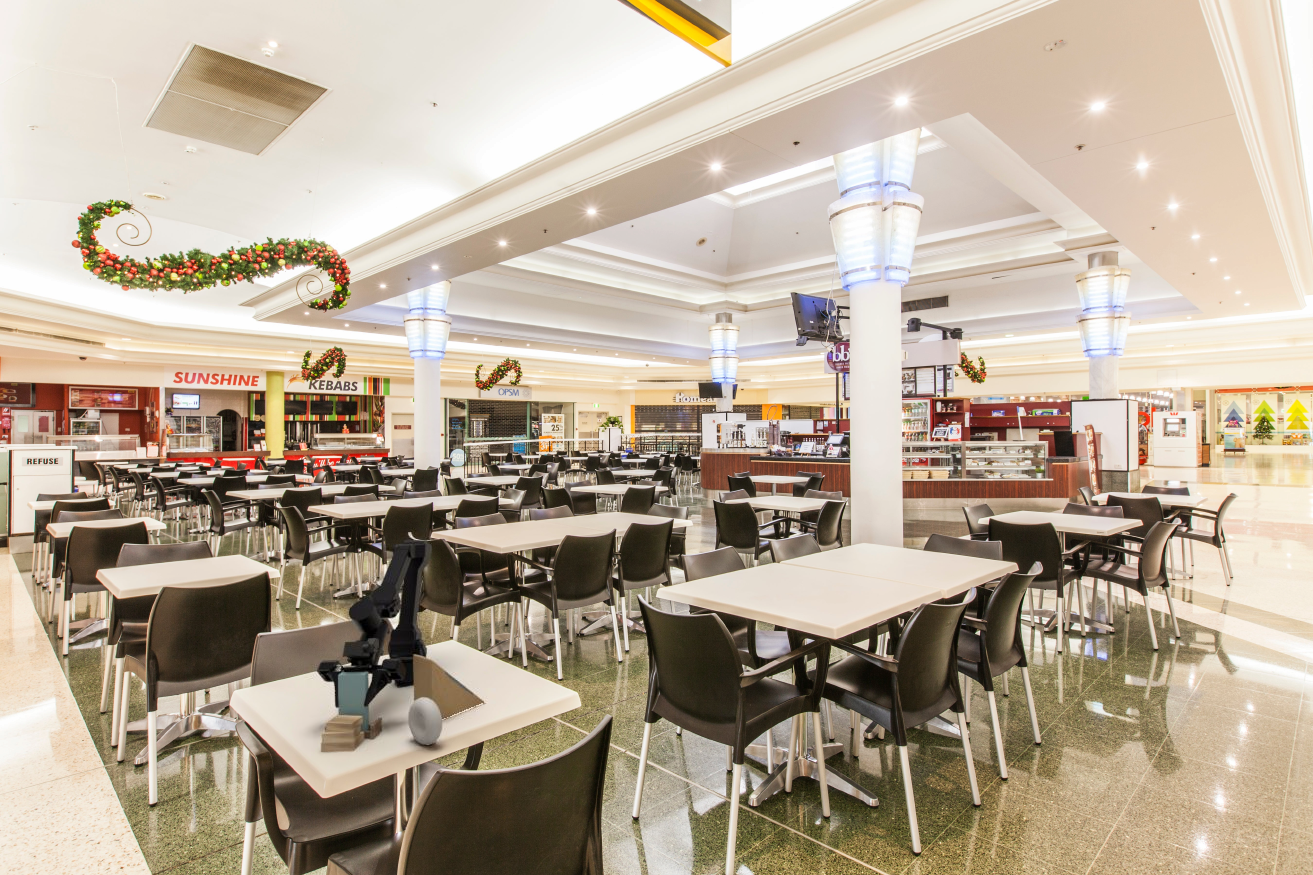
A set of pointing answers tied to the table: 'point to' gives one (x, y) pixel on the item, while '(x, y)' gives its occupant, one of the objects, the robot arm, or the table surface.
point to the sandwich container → (441, 688)
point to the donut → (425, 721)
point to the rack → (373, 729)
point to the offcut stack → (342, 734)
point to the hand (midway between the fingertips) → (350, 706)
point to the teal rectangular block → (354, 695)
